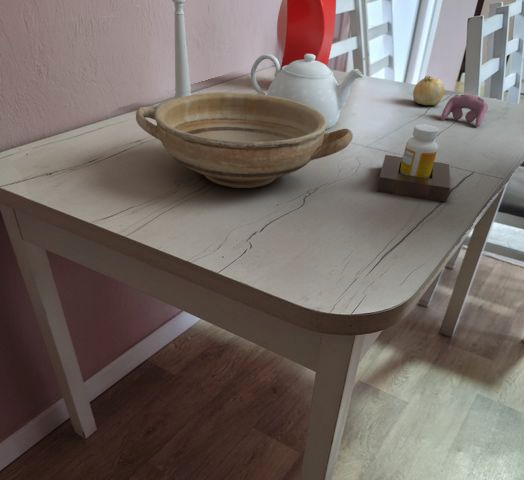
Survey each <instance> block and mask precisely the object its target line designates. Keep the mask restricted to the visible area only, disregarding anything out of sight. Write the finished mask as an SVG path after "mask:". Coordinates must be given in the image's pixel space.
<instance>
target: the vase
mask: <svg viewBox="0 0 524 480" xmlns="http://www.w3.org/2000/svg"><path fill="white" fill-rule="evenodd" d="M336 12H337V0H281V3H280V6H279V10H278V15H277V21H276V38H277V39H276V40H277V44H278V45H277V46H278V50H279V54H280V58H281V64H280V69H281V70H282V67H283V66H286V65H289V64H290V63H292V62H294V61H296V60H304V59H305V58H304V55H305V54H313V55H315V57H316V58H315V61H319V62H321V63H323V64H325V65H326V66H327V67H328V64H329V61H330V55H331V51H332V46H333V40H334V33H335V25H336V14H337V13H336Z"/></svg>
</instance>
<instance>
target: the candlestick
mask: <svg viewBox="0 0 524 480" xmlns="http://www.w3.org/2000/svg"><path fill="white" fill-rule="evenodd" d="M171 1H172V2H173V6H174V12H173V14H174V67H175V68H174V79H175V81H174V83H175V84H174V85H175V86H174V87H175V88H174V92H175V93H174V97H170V98H167V99H164V100H163V101H161V102H160V103H158V104H157V105H156V107H155V109H156V110H157V109H158V108H159V106H161V105H162V104H164V103H166V102H168V101H170V100H173V99H176V98H180V97H184V96H189V95H192V92H191V91H192V89H191V79H190V78H191V77H190V68H189V56H188V46H187V34H186V22H185V21H186V20H185V12H184V4H185V2H186V0H171Z"/></svg>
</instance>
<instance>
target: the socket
mask: <svg viewBox="0 0 524 480" xmlns="http://www.w3.org/2000/svg"><path fill="white" fill-rule="evenodd" d="M402 159H403V156H398V155H397V156H396V155H391V154H390V155H389V154H384V159H383V163H382V166H381V170H380V173H379V177H378V182H377V187H376V192H381V193H388V194H394V195H400V196H406V197H412V198H418V199H422V200H423V199H424V200H431V201H437V202H441V203H442V202H443V203H446V202H447V199H448V197H449V193H450V190H451V174H450V173H451V172H450V163H445V162H438V161H434V164H433V167H432V171H431V175H430V178H423V177H417V176H410V175H404V174H399V172H400V168H401V163H402Z"/></svg>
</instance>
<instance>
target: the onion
mask: <svg viewBox="0 0 524 480" xmlns="http://www.w3.org/2000/svg"><path fill="white" fill-rule="evenodd" d="M445 91H446V89H445V84H444V83H443V81H441V80H440V79H439V78H436V77H433V76H431V75H428V74H427V75H425V76H424V78H422V79H420V80H419V81H418V82H417V83H416V85H415V86H414V89H413V92H412V97H413V102H415V103H416V104H418V105H424V106H438V105H439V103H440V102H441V101H442V99H443V98H444V96H445Z"/></svg>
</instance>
